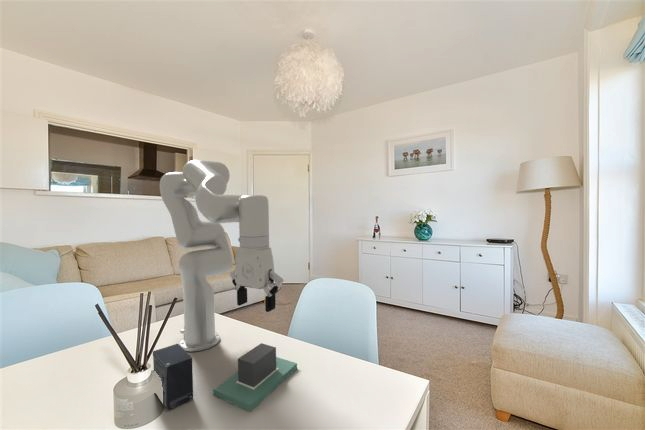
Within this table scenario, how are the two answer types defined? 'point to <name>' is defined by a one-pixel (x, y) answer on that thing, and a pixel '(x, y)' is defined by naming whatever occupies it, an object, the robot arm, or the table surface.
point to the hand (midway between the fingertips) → (256, 306)
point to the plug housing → (256, 364)
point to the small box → (174, 375)
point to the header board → (254, 395)
